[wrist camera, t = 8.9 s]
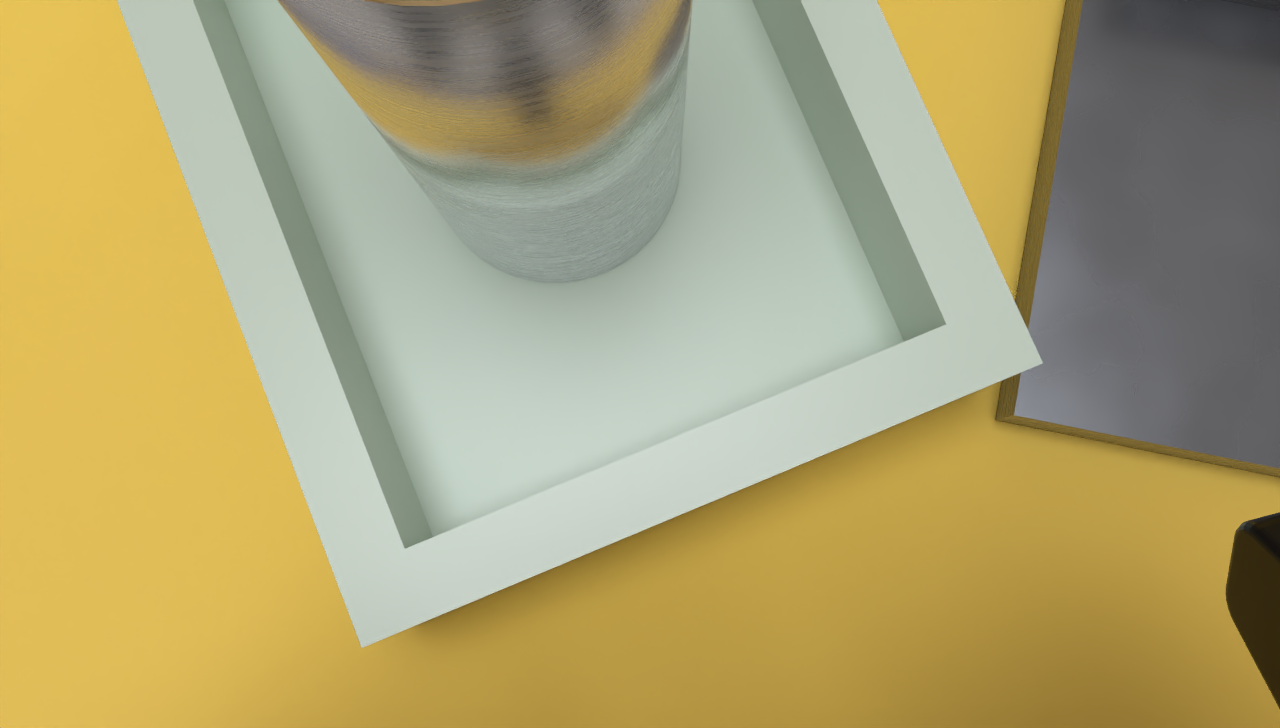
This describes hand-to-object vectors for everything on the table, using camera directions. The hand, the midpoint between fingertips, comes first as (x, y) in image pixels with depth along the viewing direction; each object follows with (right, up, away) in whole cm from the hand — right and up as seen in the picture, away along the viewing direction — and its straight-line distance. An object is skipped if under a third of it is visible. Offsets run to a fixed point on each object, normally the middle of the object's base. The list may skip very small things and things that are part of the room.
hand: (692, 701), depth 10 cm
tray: (-2, +6, +11) cm, 13 cm away
